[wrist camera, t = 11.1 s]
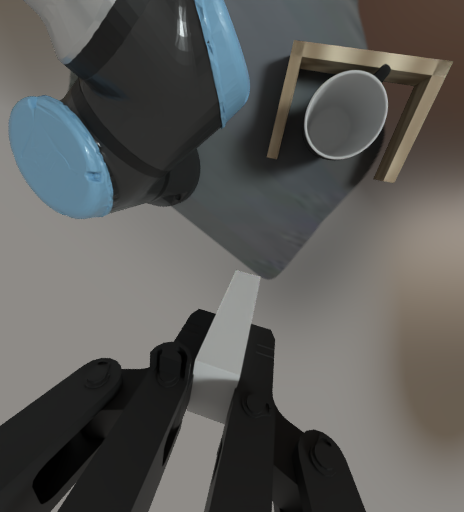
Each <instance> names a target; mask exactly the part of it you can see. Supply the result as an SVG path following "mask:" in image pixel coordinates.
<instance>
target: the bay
mask: <svg viewBox="0 0 464 512" xmlns="http://www.w3.org/2000/svg"><path fill="white" fill-rule="evenodd" d="M384 64H388V65H389V66H390V68H391V72H390V73H389V75H388V76H387V77H386V78H385V80H384V82H392V83H398V84H404V85H411V86H414V88H413V90H412V93H411V95H410V97H409V99H408V102H407V104H406V106H405V108H404V111H403V113H402V115H401V118H400V120H399V122H398V124H397V127H396V129H395V131H394V133H393V136H392V138H391V140H390V142H389V145H388V147H387V149H386V152H385V154H384V156H383V158H382V161H381V163H380V165H379V168H378V170H377V172H376V174H375V176H374V179H376V180H380V181H385V182H391V183H394V182H395V180H396V178H397V176H398V174H399V172H400V170H401V168H402V166H403V164H404V161H405V160H406V157H407V155H408V153H409V151H410V149H411V147H412V145H413V143H414V141H415V139H416V137H417V135H418V133H419V130H420V129H421V126H422V124H423V122H424V120H425V118H426V116H427V114H428V112H429V110H430V108H431V106H432V104H433V102H434V99H435V98H436V95H437V93H438V91H439V89H440V87H441V85H442V83H443V81H444V79H445V77H446V75H447V73H448V71H449V68H450V66H451V64H452V61H445V60H438V59H430V58H423V57H415V56H408V55H400V54H393V53H386V52H378V51H371V50H363V49H356V48H348V47H341V46H333V45H326V44H319V43H311V42H304V41H296V40H294V43H293V47H292V51H291V56H290V60H289V64H288V68H287V73H286V77H285V81H284V86H283V90H282V94H281V99H280V103H279V107H278V111H277V116H276V120H275V124H274V129H273V133H272V137H271V141H270V146H269V150H268V154H267V157H268V158H272V159H277V158H278V154H279V150H280V146H281V142H282V138H283V134H284V130H285V126H286V122H287V118H288V114H289V110H290V106H291V102H292V98H293V94H294V90H295V86H296V82H297V78H298V74H299V70H300V69H304V70H311V71H318V72H324V73H331V74H339V73H342V72H345V71H350V70H361V71H365V72H368V73H370V74H372V75H374V74H375V73H376V71H377V70H378V69H379V68H380V67H381V66H382V65H384Z"/></svg>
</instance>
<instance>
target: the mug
mask: <svg viewBox="0 0 464 512" xmlns="http://www.w3.org/2000/svg"><path fill="white" fill-rule="evenodd" d="M390 72H391V68H390V66H389V65H388V64H384V65H382V66H381V67H380V68H379V69H378V70H377V71H376V73H375V74H374V75H372V74H370V73H368V72H365V71H361V70H350V71H345V72H342V73H339V74H337V75H335V76H333V77H331V78H330V79H328V80H327V81H326V82H324V83H323V84H322V85H321V86H320V87H319V88H318V89H317V91H316V92H315V93H314V95H313V96H312V98H311V100H310V101H309V103H308V106H307V108H306V111H305V114H304V118H303V125H302V133H303V139H304V142H305V144H306V146H307V148H308V149H309V150H310V151H311V152H312V153H313V154H314V155H316V156H318V157H320V158H322V159H327V160H342V159H347V158H350V157H353V156H355V155H357V154H359V153H360V152H362V151H363V150H365V149H366V148H367V147H368V146H369V145H370V144H371V143H372V142H373V141H374V140H375V139H376V138H377V136H378V135H379V133H380V131H381V130H382V128H383V125H384V123H385V120H386V116H387V110H388V99H387V94H386V91H385V88H384V87H383V85H382V82H383V81H384V80H385V78H386V77H387V76H388V75H389V73H390Z"/></svg>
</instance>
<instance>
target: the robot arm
mask: <svg viewBox="0 0 464 512" xmlns="http://www.w3.org/2000/svg"><path fill="white" fill-rule="evenodd" d="M23 1H24V2H25V3H26V4H28V5H29V6H30V7H31V8H32V9H33V10H34V11H35V12H36V13H37V14H39V16H40V18H41V19H42V21H43V23H44V24H45V26H46V28H47V31H48V34H49V36H50V39H51V42H52V45H53V47H54V50H55V53H56V56H57V58H58V60H59V61H60V62H61V63H63V64H64V65H65V66H66V67H67V68H69V69H70V70H71V71H72V72H73V73H75V74H76V75H77V76H78V78H77V80H76V81H75V83H74V84H73V86H72V87H71V88H70V90H69V91H68V93H67V94H66V95H65V97H64V98H63V99H62V100H60V101H59V100H57V99H54V98H52V97H50V96H45V95H43V96H38V97H33V96H30V97H25V98H23V99H21V100H20V101H19V102H17V103H16V105H15V106H14V107H13V109H12V111H11V115H10V119H9V140H10V144H11V149H12V152H13V154H14V157H15V160H16V163H17V165H18V168H19V169H20V172H21V174H22V175H23V177H24V179H25V180H26V182H27V183H28V185H29V186H30V187H31V189H32V190H33V191H34V192H35V194H36V195H37V196H38V197H39V198H40V199H41V200H42V201H43V202H44V203H45V204H46V205H48V206H49V207H50V208H52V209H53V210H55V211H56V212H58V213H60V214H62V215H67V216H69V217H71V218H75V219H86V218H92V217H103V216H105V215H107V214H109V213H113V212H116V211H120V210H123V209H127V208H130V207H133V206H137V205H140V204H144V203H148V204H152V205H156V206H172V205H175V204H178V203H181V202H183V201H184V200H186V199H187V198H188V197H189V196H190V195H191V194H192V193H193V191H194V190H195V188H196V186H197V184H198V180H199V176H200V160H199V155H198V152H197V149H196V148H197V147H199V146H200V145H201V144H202V143H203V142H204V141H205V140H207V139H208V138H209V137H210V136H211V135H212V134H213V133H215V132H216V131H217V130H218V129H219V128H221V129H222V128H224V127H225V125H226V122H227V121H228V120H229V119H230V118H231V117H232V116H233V115H234V114H236V113H237V112H238V111H239V110H240V109H241V108H242V107H243V106H244V104H245V103H246V101H247V99H248V96H249V92H250V81H249V75H248V70H247V66H246V63H245V60H244V56H243V53H242V50H241V47H240V44H239V41H238V38H237V35H236V32H235V29H234V27H233V24H232V21H231V18H230V16H229V13H228V10H227V8H226V5H225V3H224V0H23ZM260 278H261V277H259V276H256V275H252V274H249V273H245V272H241V271H238V270H236V271H235V274H234V276H233V278H232V280H231V282H230V285H229V287H228V289H227V291H226V293H225V296H224V298H223V300H222V302H221V304H220V307H219V309H218V311H217V313H216V314H214V313H211V312H208V311H205V310H201V309H198V310H197V311H195V312H194V313H192V314H191V315H190V317H189V318H188V320H187V322H186V324H185V325H184V326H183V328H182V330H181V331H180V333H179V334H178V336H177V337H176V339H175V341H174V342H167V343H163V344H161V345H158V346H156V347H155V348H154V349H153V350H152V351H151V352H150V367H149V368H145V369H121V366H120V364H118V362H117V361H116V360H113V359H111V358H100V359H96V360H93V361H91V362H89V363H87V364H86V365H84V366H82V367H81V368H79V369H78V370H77V371H75V372H74V373H72V374H71V375H70V376H69V377H67V378H66V379H64V380H63V381H61V382H60V383H59V384H57V385H56V386H55V387H53V388H52V389H51V390H49V391H48V392H46V393H45V394H44V395H42V396H41V397H40V398H38V399H37V400H35V401H34V402H32V403H31V404H30V405H28V406H27V407H26V408H24V409H23V410H22V411H20V412H19V413H17V414H16V415H15V416H13V417H12V418H10V419H9V420H8V421H6V422H5V423H4V424H2V425H1V426H0V512H51V510H52V509H53V508H54V507H55V506H56V505H57V504H58V502H59V501H60V500H61V499H62V497H64V496H65V494H66V493H67V492H68V491H69V490H70V489H71V487H72V486H73V485H74V484H75V483H76V484H75V485H74V487H73V489H72V490H71V492H70V493H69V495H68V496H67V498H66V500H65V501H64V502H63V504H62V505H61V507H60V509H59V510H58V512H148V511H149V508H150V506H151V503H152V501H153V498H154V496H155V493H156V490H157V488H158V485H159V483H160V480H161V477H162V475H163V472H164V469H165V467H166V465H167V462H168V460H169V457H170V454H171V452H172V449H173V447H174V444H175V441H176V439H177V436H178V434H179V431H180V429H181V424H182V419H183V416H184V414H185V411H186V409H187V410H188V411H190V412H193V413H195V414H198V415H201V416H204V417H206V418H209V419H212V420H214V421H217V422H220V423H223V424H225V426H224V431H223V435H222V438H221V442H220V445H219V448H218V452H217V459H216V463H215V467H214V471H213V476H212V480H211V484H210V489H209V493H208V497H207V501H206V506H205V511H204V512H271V511H272V501H273V503H274V512H366V511H365V508H364V506H363V503H362V501H361V498H360V495H359V493H358V490H357V488H356V485H355V482H354V480H353V477H352V474H351V472H350V470H349V467H348V464H347V462H346V459H345V457H344V455H343V454H342V451H341V450H340V448H339V447H338V446H337V444H336V443H335V442H334V441H333V440H332V439H331V438H330V437H329V436H327V435H326V434H324V433H323V432H320V431H317V430H309V431H306V432H305V433H304V432H302V431H301V430H300V429H298V428H297V427H296V426H294V425H293V424H292V423H290V422H289V421H288V420H286V419H285V418H284V417H283V416H282V414H281V413H280V412H279V411H278V409H277V407H276V405H275V403H274V400H273V394H272V388H273V368H274V349H275V348H274V347H275V338H274V336H273V334H272V331H271V330H269V329H266V328H263V327H259V326H256V325H253V324H251V321H252V316H253V312H254V307H255V302H256V297H257V292H258V287H259V282H260ZM187 406H188V407H187Z"/></svg>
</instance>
